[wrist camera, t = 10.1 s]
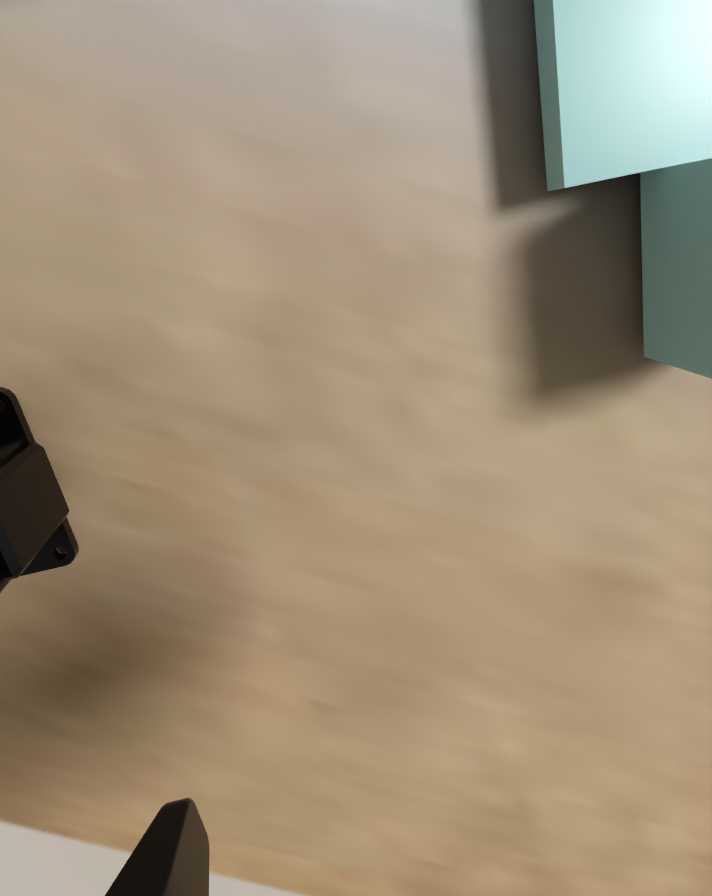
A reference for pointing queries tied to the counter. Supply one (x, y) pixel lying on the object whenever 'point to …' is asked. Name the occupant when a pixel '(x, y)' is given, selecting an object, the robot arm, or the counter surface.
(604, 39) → the lid
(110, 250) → the counter surface
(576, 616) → the counter surface
